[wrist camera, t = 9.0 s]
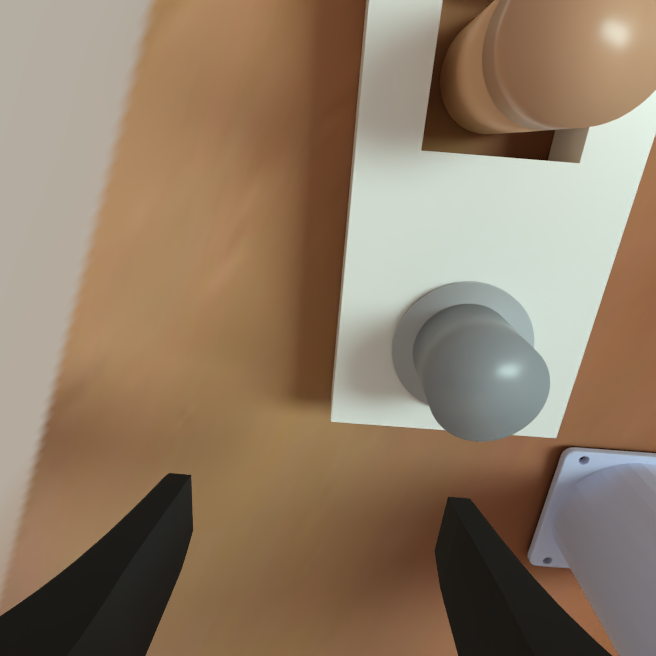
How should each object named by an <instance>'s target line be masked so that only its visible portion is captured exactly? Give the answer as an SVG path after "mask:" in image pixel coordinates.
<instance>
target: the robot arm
mask: <svg viewBox="0 0 656 656" xmlns="http://www.w3.org/2000/svg"><path fill="white" fill-rule="evenodd" d="M583 456H585V457H584V458H583V459H580V458H581V457H583ZM579 459H580V460H579ZM192 532H193V517H192V487H191V475H185V474H173V473H169V474H167V475H166V476H165V477H164V478H163V479H162V480H161V481H160V482H159V483H158V484H157V485H156V486H155V487H154V488H153V489H152V490H151V491H150V492H149V493H148V494H147V495H146V496H145V497H144V498H143V499H142V500H141V501H140V502H139V503H138V504H137V505H136V506H135V507H134V508H133V509H132V510H131V511H130V512H129V513H128V514H127V515H126V516H125V517H124V518H123V519H122V520H121V521H120V522H119V523H118V524H117V525H116V526H114V527H113V528H112V529H111V530H110V531H109V532H108V533H107V534H106V535H105V536H104V537H102V538H101V539H100V540H99V541H98V542H97V543H96V544H94V545H93V546H92V547H91V548H90V549H89V550H88V551H86V552H85V553H84V554H83V555H82V556H81V557H79V558H78V559H77V560H76V561H75V562H73V563H72V564H71V565H70V566H68V567H67V568H66V569H65V570H64V571H62V572H61V573H60V574H58V575H57V576H56V577H55V578H53V579H52V580H51V581H49V582H48V583H47V584H45V585H44V586H43V587H41V588H40V589H39V590H37V591H36V592H35V593H33V594H32V595H30V596H29V597H27V598H26V599H25V600H23V601H22V602H20V603H19V604H18V605H16V606H15V607H13V608H12V609H10V610H9V611H7V612H6V613H4V614H3V615H1V616H0V656H145V655H146V653H147V651H148V648H149V646H150V644H151V641H152V639H153V636H154V634H155V632H156V629H157V627H158V624H159V622H160V620H161V617H162V615H163V613H164V610H165V608H166V605H167V603H168V601H169V598H170V596H171V593H172V591H173V589H174V586H175V584H176V581H177V579H178V576H179V574H180V572H181V569H182V566H183V563H184V560H185V556H186V553H187V550H188V546H189V543H190V539H191V536H192ZM435 555H436V562H437V570H438V576H439V582H440V588H441V592H442V596H443V600H444V604H445V608H446V612H447V615H448V619H449V623H450V626H451V630H452V634H453V637H454V641H455V645H456V649H457V652H458V656H612V655H611V654H609V653H608V652H607V651H606V650H605V649H604V648H603V647H602V646H601V645H600V644H598V643H597V642H596V641H595V640H594V639H593V638H592V637H591V636H590V635H589V634H588V633H587V632H586V631H585V630H584V629H583V628H582V627H581V626H580V625H579V624H578V623H576V622H575V621H574V620H573V619H572V618H571V617H570V616H569V615H568V614H567V613H566V612H565V611H564V610H563V609H562V608H561V607H560V606H559V605H558V604H557V602H556V601H555V600H554V599H553V598H552V597H551V596H550V595H549V594H548V593H547V592H546V591H545V589H544V588H543V587H542V586H541V585H540V584H539V583H538V582H537V581H536V580H535V579H534V577H533V576H532V575H531V574H530V573H529V572H528V570H527V569H526V568H525V567H524V566H523V565H522V563H521V562H520V561H519V560H518V559H517V557H516V556H515V555H514V554H513V553H512V551H511V550H510V549H509V548H508V546H507V545H506V544H505V543H504V542H503V540H502V539H501V538H500V536H499V535H498V534H497V533H496V531H495V530H494V529H493V528H492V526H491V525H490V524H489V522H488V521H487V520H486V519H485V517H484V516H483V515H482V514H481V512H480V511H479V510H478V508H477V507H476V506H475V505H474V503H473V502H472V501H471V500H470V499H468V498H456V497H448V500H447V504H446V508H445V512H444V516H443V520H442V524H441V528H440V532H439V536H438V540H437V544H436V548H435ZM527 557H528V559H529V561H530V563H531V564H532V565H535V566H546V567H561V568H570V569H571V571H572V573H573V574H574V576H575V578H576V580H577V581H578V583H579V585H580V587H581V589H582V590H583V592H584V594H585V596H586V598H587V599H588V601H589V603H590V605H591V607H592V608H593V610H594V612H595V614H596V615H597V617H598V619H599V621H600V623H601V624H602V626H603V628H604V630H605V632H606V633H607V635H608V637H609V639H610V641H611V642H612V644H613V646H614V648H615V649H616V651H617V653H618V655H619V656H656V453H645V452H631V451H618V450H604V449H590V448H576V447H571V448H568V449H566V450H564V451H563V452H562V454H561V457H560V460H559V463H558V466H557V469H556V472H555V474H554V477H553V480H552V483H551V486H550V489H549V492H548V495H547V498H546V501H545V504H544V507H543V510H542V513H541V516H540V519H539V522H538V525H537V528H536V531H535V534H534V537H533V540H532V543H531V546H530V549H529V552H528V556H527Z"/></svg>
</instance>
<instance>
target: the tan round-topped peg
mask: <svg viewBox="0 0 656 656" xmlns="http://www.w3.org/2000/svg"><path fill="white" fill-rule="evenodd" d="M440 89H441V96H442V99H443V103H444V105H445V107H446V110H447V111H448V113H449V115H450V116H451V117H452V119H453V120H454V121H455V122H456V123H457V124H458V125H460V126H461V127H463V128H464V129H466V130H468V131H470V132H473V133H477V134H503V133H516V132H530V131H544V130H558V129H572V128H585V127H593V126H598V125H602V124H605V123H608V122H611V121H613V120H616V119H618V118H620V117H622V116H624V115H625V114H627V113H629V112H631V111H632V110H633V109H635V108H636V107H638V106H639V105H640V104H642V103H643V102H644V101H645V100H646V99H647V98H648V97H650V96H651V94H652V93H653V92H654V91H655V90H656V0H494V1H493V2H492V3H491V4H490V5H489V6H488V7H487V8H485V9H484V10H483V11H482V12H481V13H480V14H479V15H478V16H477V17H475V18H474V19H473V20H472V21H471V22H470V23H469V24H468V25H467V26H465V27H464V28H463V29H462V30H461V31H460V32H459V33H458V35H457V36H456V37H455V39H454V40H453V41H452V43H451V45H450V46H449V48H448V50H447V53H446V55H445V57H444V61H443V64H442V68H441V75H440Z"/></svg>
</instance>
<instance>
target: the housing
mask: <svg viewBox="0 0 656 656" xmlns="http://www.w3.org/2000/svg"><path fill="white" fill-rule="evenodd" d="M442 2H443V0H366V9H365V20H364V31H363V43H362V54H361V65H360V76H359V88H358V99H357V110H356V121H355V133H354V144H353V155H352V166H351V178H350V189H349V200H348V211H347V223H346V234H345V245H344V256H343V268H342V279H341V290H340V301H339V313H338V324H337V335H336V346H335V358H334V369H333V380H332V392H331V422H343V423H356V424H370V425H384V426H397V427H411V428H425V429H438V430H446V431H447V432H449V433H451V434H452V435H454V436H456V437H459V438H462V439H466V440H470V441H493V440H498V439H502V438H505V437H508V436H510V435H520V436H534V437H548V438H556V437H557V434H558V431H559V428H560V425H561V422H562V419H563V415H564V412H565V409H566V406H567V403H568V400H569V397H570V394H571V391H572V388H573V385H574V382H575V379H576V376H577V373H578V369H579V366H580V363H581V360H582V357H583V354H584V351H585V348H586V345H587V342H588V339H589V336H590V333H591V330H592V327H593V324H594V320H595V317H596V314H597V311H598V308H599V305H600V302H601V299H602V296H603V293H604V290H605V287H606V284H607V281H608V278H609V274H610V271H611V268H612V265H613V262H614V259H615V256H616V253H617V250H618V247H619V244H620V241H621V238H622V235H623V232H624V229H625V225H626V222H627V219H628V216H629V213H630V210H631V207H632V204H633V201H634V198H635V195H636V192H637V189H638V186H639V183H640V179H641V176H642V173H643V170H644V167H645V164H646V161H647V158H648V155H649V152H650V149H651V146H652V143H653V140H654V137H655V133H656V90H655V91H654V92H653V93H652V94H651V96H650V97H648V98H647V99H646V100H645V101H644V102H643V103H642V104H640V105H639V106H638V107H636V108H635V109H633V110H632V111H631V112H629V113H627V114H625V115H624V116H622V117H620V118H618V119H616V120H613V121H611V122H608V123H605V124H602V125H598V126H593V127H585V128H572V129H558V130H555V132H554V136H553V141H552V145H551V149H550V153H549V157H548V161H545V160H532V159H520V158H507V157H495V156H482V155H470V154H458V153H445V152H433V151H421V148H422V141H423V134H424V127H425V120H426V113H427V106H428V99H429V92H430V85H431V78H432V71H433V64H434V57H435V50H436V43H437V37H438V30H439V23H440V16H441V9H442Z"/></svg>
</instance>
